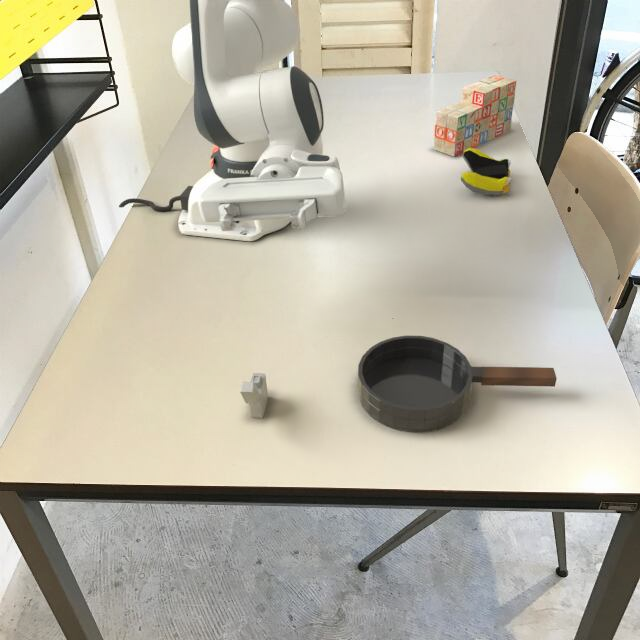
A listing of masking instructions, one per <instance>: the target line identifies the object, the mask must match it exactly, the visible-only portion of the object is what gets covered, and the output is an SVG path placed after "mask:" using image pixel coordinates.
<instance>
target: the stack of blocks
mask: <svg viewBox="0 0 640 640" xmlns="http://www.w3.org/2000/svg"><path fill="white" fill-rule="evenodd" d="M516 87H517V80H515V79H512V78H508V77H503V76H499V75H492V76H489V77H485V78H482V79H480V80H478V81H476V82H473V83H471V84H468V85H466V86H464V87H462V93H461V100H460V101H458V102H455V103H453V104H451V105H448V106H446V107H444V108H441V109H439V110H436V114H435V124H434V137H433V138H434V139H433V140H434V141H433V150H434V151H438V152H440V153H443V154H445V155H449V156H452V157H456V156H459V155H460V154H463V153H464V151H465V150H467V149H468V148H474V149H475V148H476V147H479V146H480V145H482V144H484V143H487V142H488V141H491V140H493V139H495V138H497V137H500V136H502V135H505V134H507V133H510V131H511V127H512V120H513V119H512V117H513V111H514V110H513V109H514V105H515V97H516Z"/></svg>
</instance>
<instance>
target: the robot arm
mask: <svg viewBox="0 0 640 640" xmlns="http://www.w3.org/2000/svg"><path fill="white" fill-rule="evenodd" d="M189 14H190V15H189V16H190V22H189V23H187V24H186V25H184V26H183V27H181V28H180V29H179V30H177V32H176V33H175V34H174V36H173V39H172V43H171V55H172V61H173V65H174V66H175V69H176V70H177V73H178V74H179V75H180V77H181V78H182V79H183V81H185V82H186V83H188V85H190V86H192V87H193V116H194V122H195V126H196V130H197V131H198V133H199V134H200V135H201V136H202V137H203V138H204V139H205V140H207V141H208V142H209V143H210V144H212V145H213V147H212V149H211V156H210V161H209V164H210V169H211V170H209V171H208V172H207V173H206V174H205V175H203V176H202V177H201V178H199V179H198V181H196V182H195V184H194V185H187V187H186V188H185V189H184V190H183V191H182V192H181V193H180V195H178V196H174V197H171V198H170V199H169V201H168V205H167V206H166V205H165V206H158V205H156V204H155V203H154V202H153V201H151V200H146V199H143V198H135V197H134V198H127V199H125V200H123V201H121V202H120V203H119V205H118V208H125V206H127V205H128V204H134V203H135V204H141V205H142V204H143V205H147V206H150V208H151V209H152V210H154V211H157V212H168V211H171V210H172V209H173V208H174V203H175V202H179V201H180V207H181V212H180V214H179V217H178V221H177V222H178V230H179V232H180V233H181V234H182V235H186V236H194V237H203V238H204V237H205V238H213V239H214V238H215V239H223V240H232V241H243V242H254V241H257V240H259V239H260V238H262V237H263V236H265V235H267V234H271V233H274V232H277V231H279V230H282V229H283V228H285V227H286V226H288V225H289V224H290V223H291V228H292V229H300V228H304V227H305V225H306V223H308V222H310V221H311V220H314V219H315V218H326V217H327V218H328V217H338V216H341V215H343V214H344V213H345V212H346V207H347V203H346V202H347V201H346V191H345V185H344V177H343V173H342V171H341V166H340V162H339V159H338V157H337V156H334V155H326V154H325V155H324V154H323V153H324V142H323V137H322V132H323V130H324V127H325V126H324V125H325V123H324V121H325V120H324V108H323V102H322V98H321V94H320V92H319V88H318V86H317V84H316V82H314V80H313V79H312V78H311V77H310V76H309V75H308V74H307V73H306V72H305V71H304V70H303V69H301V68H299V67H297V66H295V65H293V66H288V67H279V68H273V69H268V70H264V69H267V68H269V67H272V66H274V65H277V64H279V63H280V62H281V61H282V60H284V59H286V58H287V57H288V56H289V55H290V54H292V53H293V52H294V51H295V49H296V48H297V47H298V45H299V43H300V39H301V38H300V37H301V27H300V22H299V19H298V16H297V14H296V12H295V11H294V9H293V8H292V7H291V5H290V4H288V3H287V2H286V1H284V0H189ZM262 70H263V71H262Z"/></svg>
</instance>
